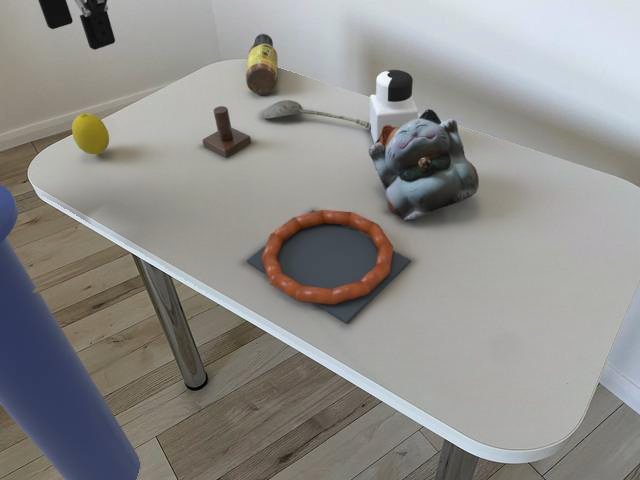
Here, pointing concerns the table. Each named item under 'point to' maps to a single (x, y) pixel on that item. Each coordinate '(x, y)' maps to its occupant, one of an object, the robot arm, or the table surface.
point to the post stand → (225, 135)
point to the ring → (327, 294)
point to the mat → (331, 263)
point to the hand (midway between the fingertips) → (81, 35)
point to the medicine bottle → (391, 101)
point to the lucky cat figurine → (423, 166)
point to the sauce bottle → (262, 66)
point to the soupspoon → (295, 108)
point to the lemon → (90, 134)
